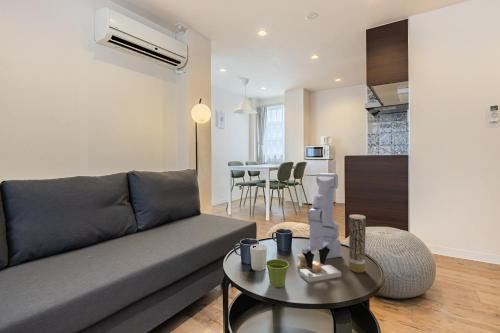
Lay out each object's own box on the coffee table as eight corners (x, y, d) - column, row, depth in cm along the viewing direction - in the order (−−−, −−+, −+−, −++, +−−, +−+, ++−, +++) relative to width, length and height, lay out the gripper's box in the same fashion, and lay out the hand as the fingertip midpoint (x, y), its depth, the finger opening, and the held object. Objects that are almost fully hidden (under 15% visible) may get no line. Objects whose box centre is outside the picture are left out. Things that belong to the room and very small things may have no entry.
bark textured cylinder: (366, 273, 114) (367, 218, 113) (350, 272, 116) (350, 217, 115) (363, 267, 121) (363, 214, 120) (347, 266, 122) (348, 214, 121)
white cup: (267, 264, 125) (267, 244, 125) (266, 271, 117) (266, 250, 117) (251, 264, 126) (251, 243, 126) (249, 271, 118) (249, 249, 118)
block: (314, 271, 117) (314, 260, 117) (321, 274, 114) (321, 263, 114) (309, 273, 116) (309, 262, 116) (316, 276, 112) (316, 265, 112)
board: (329, 268, 120) (330, 264, 120) (341, 276, 112) (341, 271, 112) (299, 274, 115) (299, 269, 115) (308, 282, 107) (308, 277, 107)
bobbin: (307, 262, 127) (307, 252, 127) (314, 268, 120) (314, 257, 120) (294, 264, 125) (294, 254, 124) (301, 270, 118) (301, 259, 118)
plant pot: (274, 276, 113) (274, 257, 112) (293, 283, 107) (293, 262, 106) (261, 285, 105) (261, 264, 105) (280, 292, 100) (280, 270, 99)
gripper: (321, 230, 121) (321, 259, 122) (297, 235, 114) (297, 266, 114) (333, 234, 115) (332, 264, 116) (308, 240, 108) (308, 272, 108)
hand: (316, 265), depth 115 cm, fingers open, 7 cm apart
